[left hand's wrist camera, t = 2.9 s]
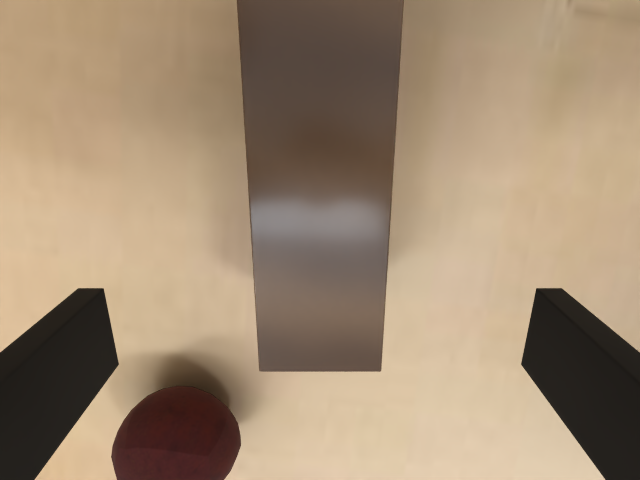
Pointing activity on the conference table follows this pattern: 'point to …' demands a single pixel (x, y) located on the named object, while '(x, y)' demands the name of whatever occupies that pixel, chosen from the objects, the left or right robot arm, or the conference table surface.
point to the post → (320, 175)
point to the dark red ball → (177, 438)
